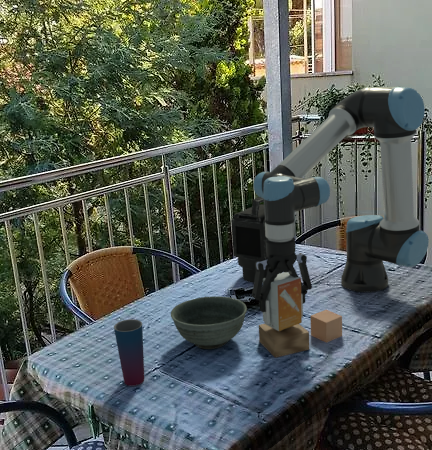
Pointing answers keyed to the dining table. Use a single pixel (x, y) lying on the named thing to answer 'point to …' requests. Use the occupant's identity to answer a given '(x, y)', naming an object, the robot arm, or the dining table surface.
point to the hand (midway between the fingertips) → (283, 318)
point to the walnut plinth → (284, 339)
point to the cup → (130, 350)
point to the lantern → (250, 239)
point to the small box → (285, 301)
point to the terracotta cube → (326, 326)
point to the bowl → (209, 320)
